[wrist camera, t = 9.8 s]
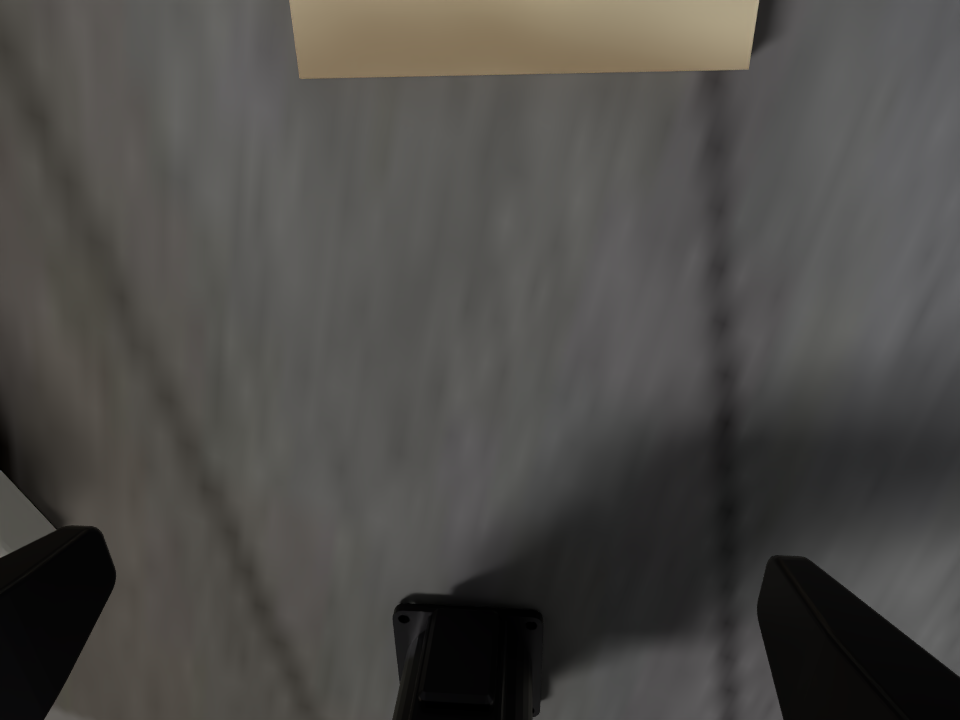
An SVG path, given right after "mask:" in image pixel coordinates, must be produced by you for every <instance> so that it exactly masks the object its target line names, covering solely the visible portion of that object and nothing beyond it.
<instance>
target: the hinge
mask: <svg viewBox="0 0 960 720" xmlns="http://www.w3.org/2000/svg"><path fill="white" fill-rule="evenodd" d="M55 530H56V529H55V528H54V527H53V525H52V524H51V523H50V522H49V521H48V520H47V519H46V518H45V517H44V516H43V515H42V514H41V513H40V512H39V511H38V509H37V508H36V507H35V506H34V505H33V504H32V503H31V502H30V501H29V500H28V499H27V498H26V497H25V496H24V494H23V493H22V492H21V491H20V490H19V489H18V488H17V487H16V486H15V485H14V484H13V483H12V482H11V481H10V480H9V478H8V477H7V476H6V475H5V474H4V473H3V472H2V471H1V470H0V558H1V557H3V556H5V555H7V554H9V553H11V552H13V551H15V550H17V549H19V548H21V547H23V546H25V545H27V544H29V543H31V542H33V541H35V540H37V539H39V538H41V537H43V536H45V535H47V534H49V533H51V532H53V531H55Z"/></svg>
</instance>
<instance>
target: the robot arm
mask: <svg viewBox="0 0 960 720" xmlns="http://www.w3.org/2000/svg"><path fill="white" fill-rule="evenodd" d="M115 580H116V570H115V566H114V564H113V561H112V558H111V555H110V553H109V550H108V547H107V544H106V542H105V539H104V536H103V534H102V532H101V531H100V530H99V529H98V528H96V527H93V526H74V525H71V526H65V527H62V528H59V529H57V530H55V531H53V532H51V533H49V534H47V535H45V536H43V537H41V538H39V539H37V540H35V541H33V542H31V543H29V544H27V545H25V546H23V547H21V548H19V549H17V550H15V551H13V552H11V553H9V554H7V555H5V556H3V557H1V558H0V720H44V719H45V717H46V716H47V714H48V712H49V711H50V709H51V707H52V705H53V704H54V702H55V700H56V699H57V697H58V695H59V693H60V691H61V690H62V688H63V686H64V684H65V682H66V680H67V679H68V677H69V675H70V673H71V671H72V669H73V667H74V665H75V663H76V661H77V659H78V657H79V655H80V653H81V651H82V649H83V647H84V645H85V643H86V641H87V639H88V637H89V635H90V633H91V631H92V630H93V628H94V626H95V624H96V622H97V620H98V618H99V616H100V614H101V612H102V610H103V608H104V606H105V604H106V602H107V600H108V598H109V596H110V594H111V592H112V590H113V588H114V585H115ZM404 615H406V616H404ZM757 615H758V621H759V626H760V630H761V633H762V637H763V641H764V645H765V649H766V653H767V657H768V661H769V665H770V669H771V673H772V677H773V681H774V684H775V688H776V692H777V696H778V700H779V704H780V708H781V712H782V716H783V720H960V677H959V676H958V675H956V674H955V673H954V672H953V671H951V670H950V669H949V668H948V667H946V666H945V665H944V664H942V663H941V662H940V661H939V660H937V659H936V658H935V657H933V656H932V655H931V654H930V653H928V652H927V651H926V650H924V649H923V648H922V647H921V646H919V645H918V644H917V643H916V642H914V641H913V640H912V639H910V638H909V637H908V636H907V635H905V634H904V633H903V632H901V631H900V630H899V629H898V628H896V627H895V626H894V625H892V624H891V623H890V622H889V621H887V620H886V619H885V618H884V617H882V616H881V615H880V614H878V613H877V612H876V611H875V610H873V609H872V608H871V607H869V606H868V605H867V604H866V603H864V602H863V601H862V600H861V599H859V598H858V597H857V596H855V595H854V594H853V593H852V592H850V591H849V590H848V589H846V588H845V587H844V586H843V585H841V584H840V583H839V582H837V581H836V580H835V579H834V578H832V577H831V576H830V575H829V574H827V573H826V572H825V571H823V570H822V569H821V568H820V567H818V566H817V565H816V564H814V563H813V562H812V561H810V560H809V559H807V558H805V557H801V556H782V555H776V556H772V557H771V558H770V559H769V560H768V563H767V565H766V569H765V573H764V577H763V582H762V586H761V590H760V594H759V598H758V603H757ZM530 621H532V622H530ZM393 627H394V636H395V645H396V654H397V663H398V672H399V681H400V687H399V691H398V696H397V701H396V705H395V710H394V714H393V719H392V720H532V717H535V716H537V715H538V714H539V712H540V695H541V668H542V641H543V617H542V615H541V614H540V612H538V611H536V610H527V609H507V608H487V607H466V606H446V605H426V604H399V605H397V606H396V608H395V610H394V614H393Z"/></svg>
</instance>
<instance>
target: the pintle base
mask: <svg viewBox="0 0 960 720" xmlns="http://www.w3.org/2000/svg"><path fill="white" fill-rule="evenodd" d="M289 1H290V9H291V16H292V24H293V32H294V39H295V47H296V54H297V62H298V70H299V77H300V79H310V78H362V77H411V76H460V75H509V74H558V73H607V72H656V71H705V70H745V69H749V63H750V57H751V50H752V44H753V37H754V31H755V24H756V18H757V11H758V5H759V0H289Z"/></svg>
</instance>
